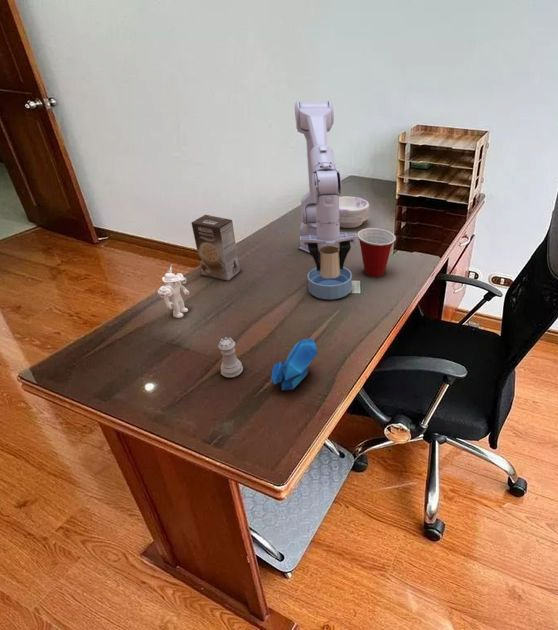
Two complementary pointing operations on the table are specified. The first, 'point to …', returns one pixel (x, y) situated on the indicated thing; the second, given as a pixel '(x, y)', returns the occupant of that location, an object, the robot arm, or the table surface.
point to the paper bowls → (352, 211)
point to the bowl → (330, 284)
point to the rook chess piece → (229, 359)
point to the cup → (329, 261)
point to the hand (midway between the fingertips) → (329, 268)
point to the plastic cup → (375, 249)
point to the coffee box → (216, 247)
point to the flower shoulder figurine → (174, 292)
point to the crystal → (294, 365)
